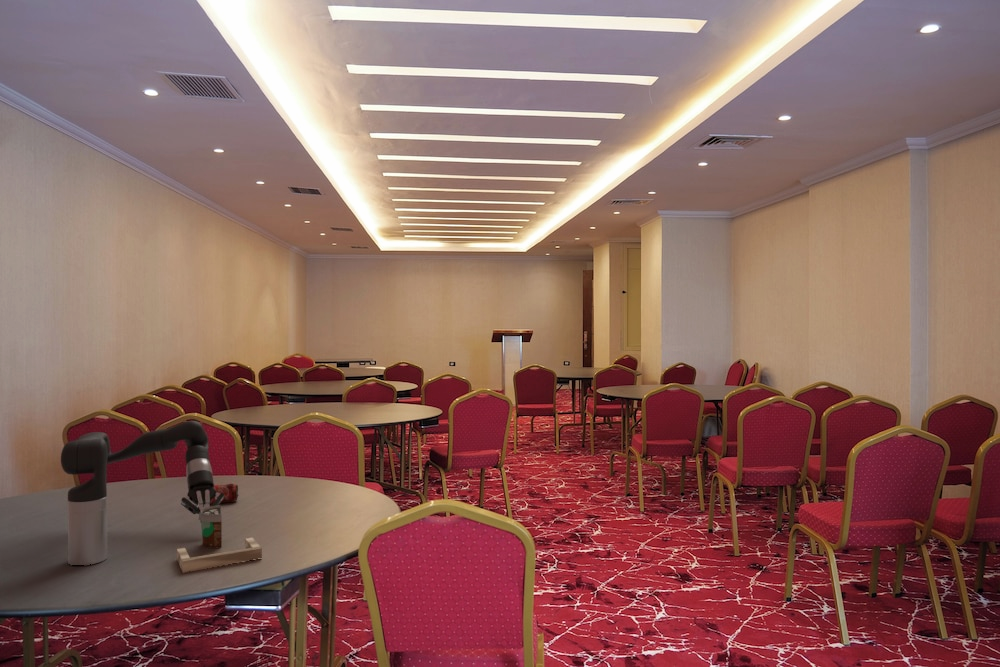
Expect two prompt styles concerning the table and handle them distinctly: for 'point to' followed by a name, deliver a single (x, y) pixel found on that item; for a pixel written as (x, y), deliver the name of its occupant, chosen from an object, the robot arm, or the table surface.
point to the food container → (211, 526)
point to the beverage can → (227, 492)
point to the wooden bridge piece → (219, 557)
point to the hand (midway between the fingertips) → (205, 523)
